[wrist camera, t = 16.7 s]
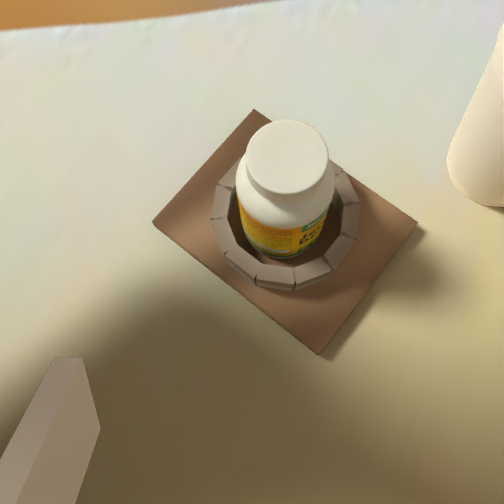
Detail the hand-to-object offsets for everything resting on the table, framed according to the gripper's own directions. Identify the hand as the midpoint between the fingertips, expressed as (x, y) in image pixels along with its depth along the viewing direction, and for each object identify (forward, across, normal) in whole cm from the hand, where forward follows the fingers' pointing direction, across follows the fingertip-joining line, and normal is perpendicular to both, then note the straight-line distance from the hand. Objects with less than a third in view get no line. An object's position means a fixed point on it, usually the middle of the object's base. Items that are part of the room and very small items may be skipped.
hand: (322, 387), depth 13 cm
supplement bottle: (+19, 0, -4) cm, 20 cm away
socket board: (+20, 0, -5) cm, 20 cm away
